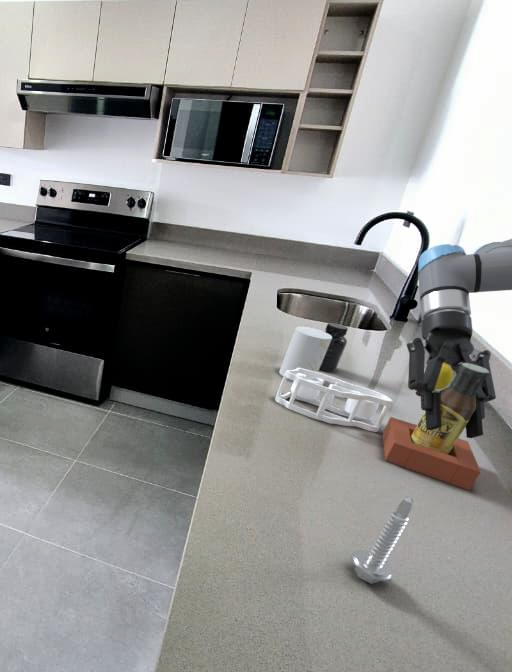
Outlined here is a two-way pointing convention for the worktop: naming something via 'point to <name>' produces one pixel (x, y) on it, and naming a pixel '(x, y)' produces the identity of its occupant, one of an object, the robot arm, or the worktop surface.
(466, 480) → the base pad
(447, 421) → the sauce bottle
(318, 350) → the cup
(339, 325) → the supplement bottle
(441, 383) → the lemon
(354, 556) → the screw
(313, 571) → the worktop surface
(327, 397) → the skeletal toy car
